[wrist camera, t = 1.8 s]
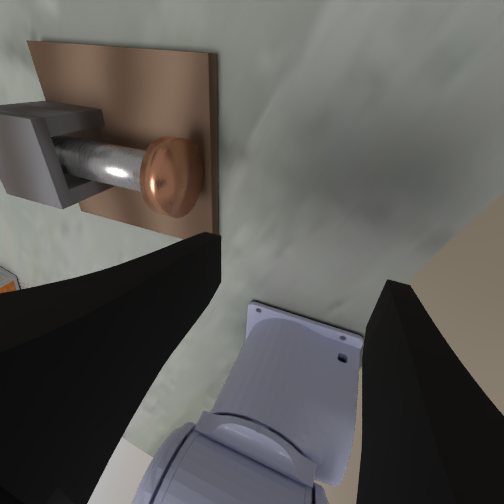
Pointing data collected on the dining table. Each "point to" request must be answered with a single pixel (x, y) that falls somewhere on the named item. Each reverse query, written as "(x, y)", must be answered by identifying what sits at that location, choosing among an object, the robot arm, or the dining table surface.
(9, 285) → the skincare box
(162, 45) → the dining table surface
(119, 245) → the dining table surface
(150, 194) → the shaft
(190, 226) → the stand
